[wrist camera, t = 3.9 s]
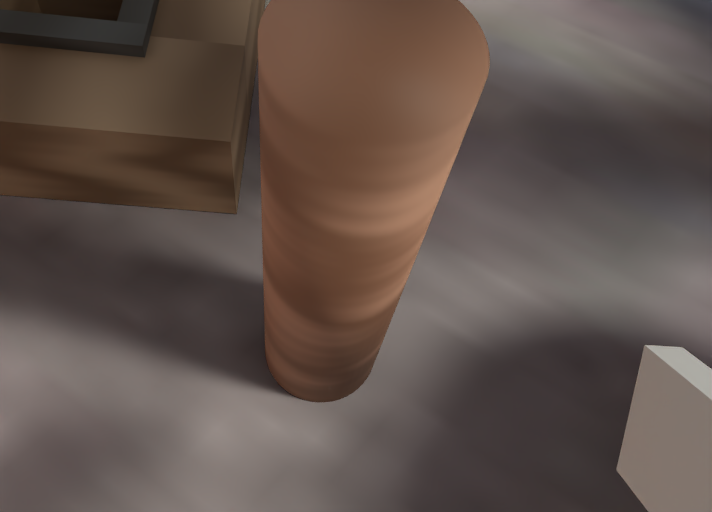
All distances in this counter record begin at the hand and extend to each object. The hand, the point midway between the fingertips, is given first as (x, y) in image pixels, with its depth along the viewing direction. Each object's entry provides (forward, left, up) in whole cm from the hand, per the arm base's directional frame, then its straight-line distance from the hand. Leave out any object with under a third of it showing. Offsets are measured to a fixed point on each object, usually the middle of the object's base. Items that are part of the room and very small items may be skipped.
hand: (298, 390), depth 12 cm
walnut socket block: (+11, -20, -13) cm, 26 cm away
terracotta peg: (-1, -6, -13) cm, 14 cm away
